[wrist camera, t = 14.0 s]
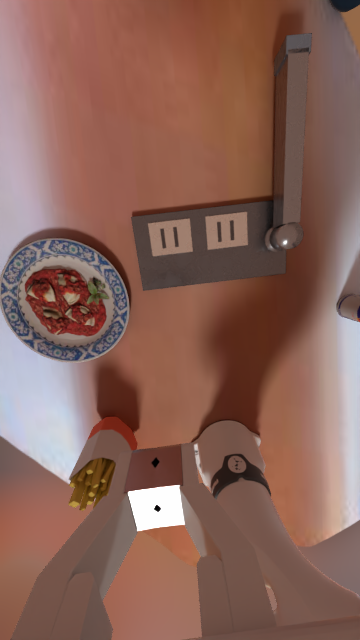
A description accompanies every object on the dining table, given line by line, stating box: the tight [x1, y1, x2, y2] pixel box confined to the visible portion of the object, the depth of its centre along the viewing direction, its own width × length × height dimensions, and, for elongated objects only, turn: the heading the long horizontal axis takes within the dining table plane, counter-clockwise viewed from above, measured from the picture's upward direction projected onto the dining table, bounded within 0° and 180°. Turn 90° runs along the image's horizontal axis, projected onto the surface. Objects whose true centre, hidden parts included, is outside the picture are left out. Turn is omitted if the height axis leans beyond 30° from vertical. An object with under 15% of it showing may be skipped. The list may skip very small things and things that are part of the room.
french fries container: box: [69, 417, 137, 511], centre depth 43 cm, size 5×11×18 cm, turn 40°
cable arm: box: [269, 33, 312, 250], centre depth 34 cm, size 4×29×4 cm, turn 6°
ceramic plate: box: [0, 238, 129, 363], centre depth 42 cm, size 26×26×3 cm
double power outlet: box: [131, 200, 286, 291], centre depth 40 cm, size 14×30×2 cm, turn 97°
